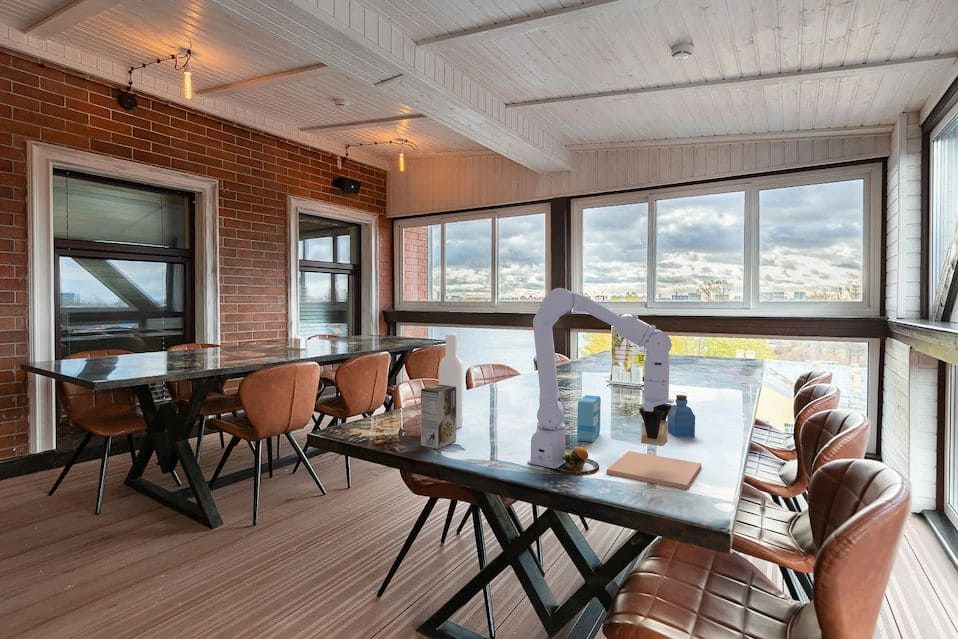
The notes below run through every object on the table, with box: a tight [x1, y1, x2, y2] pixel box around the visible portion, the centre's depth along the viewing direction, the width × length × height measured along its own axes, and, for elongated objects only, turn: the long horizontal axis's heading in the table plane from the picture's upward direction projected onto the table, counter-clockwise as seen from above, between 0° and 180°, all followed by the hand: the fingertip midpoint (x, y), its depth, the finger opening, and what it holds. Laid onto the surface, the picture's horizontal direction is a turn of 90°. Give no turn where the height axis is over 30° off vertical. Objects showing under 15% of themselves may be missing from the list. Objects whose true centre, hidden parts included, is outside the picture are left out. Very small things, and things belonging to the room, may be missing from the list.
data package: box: [576, 394, 601, 443], centre depth 151 cm, size 12×4×12 cm, turn 156°
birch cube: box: [640, 420, 669, 447], centre depth 123 cm, size 5×5×5 cm
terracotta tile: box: [606, 450, 702, 490], centre depth 123 cm, size 18×18×1 cm
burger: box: [556, 443, 600, 476], centre depth 125 cm, size 12×12×8 cm
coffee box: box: [420, 384, 457, 450], centre depth 143 cm, size 9×6×16 cm
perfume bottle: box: [666, 394, 696, 438], centre depth 157 cm, size 6×6×12 cm
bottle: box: [438, 333, 464, 430], centre depth 163 cm, size 8×8×30 cm
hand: (655, 435), depth 123 cm, fingers closed on birch cube, 5 cm apart
